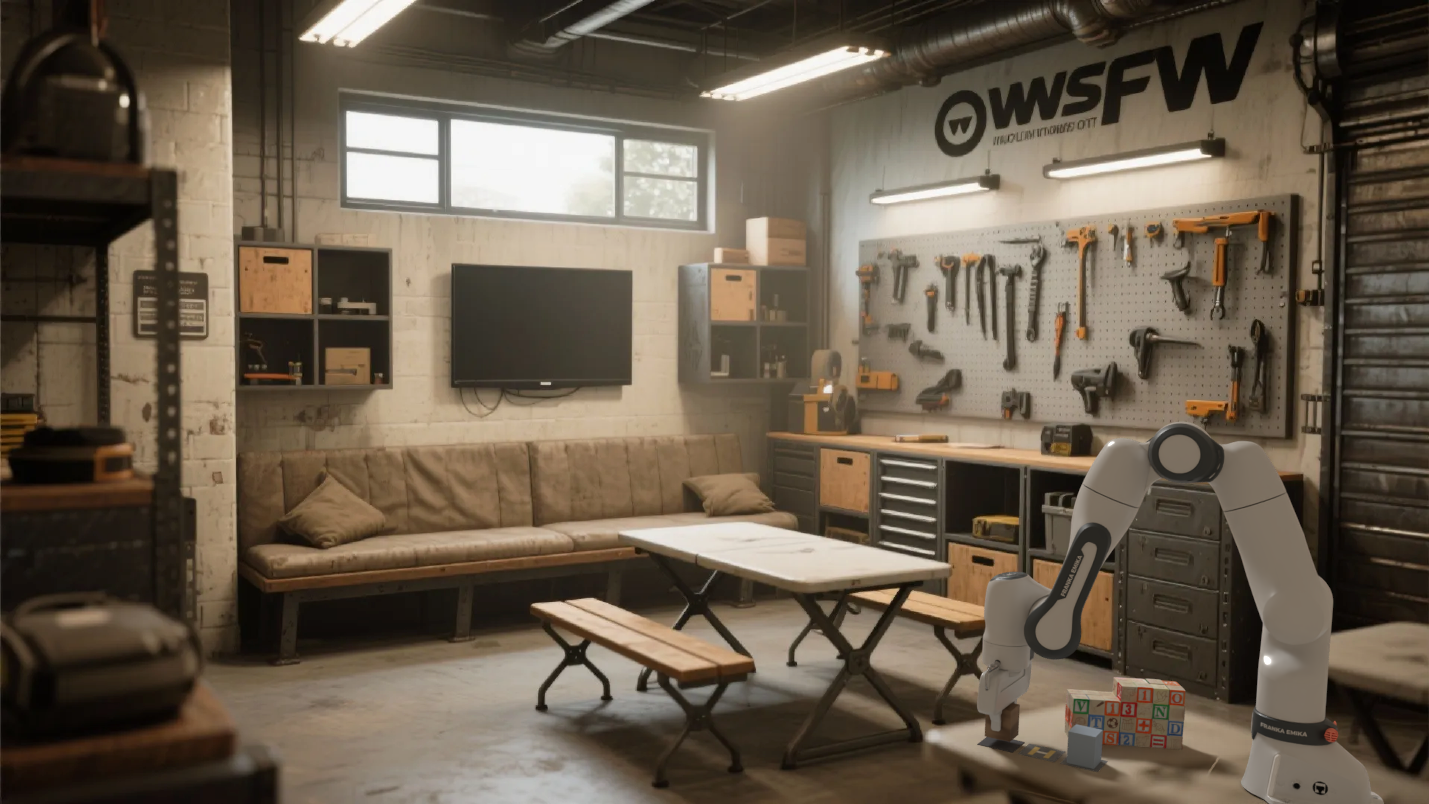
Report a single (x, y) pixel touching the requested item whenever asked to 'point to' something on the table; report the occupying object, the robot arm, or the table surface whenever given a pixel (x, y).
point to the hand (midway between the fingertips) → (1002, 725)
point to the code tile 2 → (1086, 767)
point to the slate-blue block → (1084, 746)
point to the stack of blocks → (1131, 712)
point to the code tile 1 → (1041, 752)
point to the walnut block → (1005, 724)
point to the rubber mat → (1001, 744)
